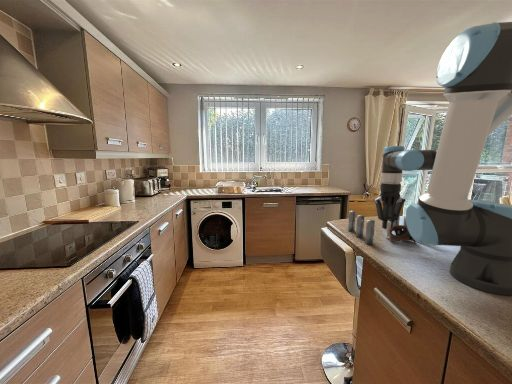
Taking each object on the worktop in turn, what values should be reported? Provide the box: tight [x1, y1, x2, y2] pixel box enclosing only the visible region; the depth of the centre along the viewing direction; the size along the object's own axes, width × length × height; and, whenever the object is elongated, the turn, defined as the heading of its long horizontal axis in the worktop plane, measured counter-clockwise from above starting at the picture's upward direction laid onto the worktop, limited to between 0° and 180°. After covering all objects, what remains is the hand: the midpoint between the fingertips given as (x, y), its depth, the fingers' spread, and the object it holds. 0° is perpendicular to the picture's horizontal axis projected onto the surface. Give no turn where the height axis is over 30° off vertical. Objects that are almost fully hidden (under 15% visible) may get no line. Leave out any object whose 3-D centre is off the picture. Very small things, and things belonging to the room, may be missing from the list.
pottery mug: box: [388, 224, 417, 245], centre depth 94 cm, size 12×10×8 cm
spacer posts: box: [347, 210, 419, 246], centre depth 100 cm, size 19×25×10 cm
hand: (386, 235), depth 98 cm, fingers closed
